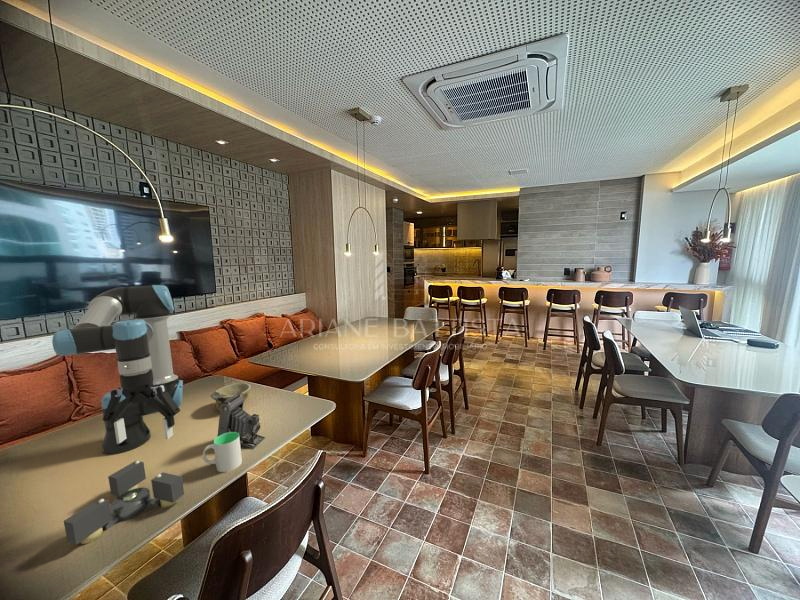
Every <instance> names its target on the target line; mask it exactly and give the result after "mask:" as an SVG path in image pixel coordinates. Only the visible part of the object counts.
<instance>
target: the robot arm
mask: <svg viewBox="0 0 800 600" xmlns="http://www.w3.org/2000/svg"><path fill="white" fill-rule="evenodd" d="M169 290H170V289H169V288H168V286H166V285H163V284H151V285H150V284H149V285H137V286H134V285H133V286H120V287H115V288H111V289H109V290H106V291H104V292H102V293H100V294H98V295H96V296H95V297H93V298H92V299H91V300H90V302H89V303H88V307H87V310H86V312H85V313H84V314H83V315H82V316H81V318H80V319H79V320H78V322H77V323H76V324H75V325H74V326H73V328H71V329H69V328H66V329H62V330H58V331H55V332H54V333H53V336H52V341H51V343H52V348H53V351H54V352H55V353H54V354H56V355H58V356H61V357H64V356H77V355H82V354H89V353H96V352H103V351H110V350H111V351H112V350H115V354H116V361H117V367H118V374H119V375H120V376H119V382H120V383H119V384H120V387H116V388H115V389H113V390H110V391H109V392H107V393H105V394H104V395H103V396H102V397H101V401H100V402H101V410H102V415H103V418H102V421H103V422H104V427H105V434H104V437H103V441H102V445H101V446H102V452H103V453H104V454H107V455H115V454H120V453H121V454H122V453H125V452H128V451H131V450H134V449H136V448H139V447H140V446H142V445H143V444H145V443H147V442H149V440H150V439H151V437H152V433H151V430H150V428H149V427H148V426H147V423H146V422H145V421H144V416H148V415H152V414H157V413H159V414H161V415H162V416H163V419H162V424H163V432H164V438H165V439H164V440H169V439H170V438H171V437H173V435H174V427H173V426H175V424H176V423H175V416H176V415H177V414H178V413H180V412H181V409H180V407H181V405H182V402H183V391H184V390H183V388H184V387H183V386H184V380H181V379H179V376H178V375H177V374H174V369H173V359H172V353H171V352H172V351H171V346H170V345H171V344H170V337H169V330H168V328H169V327H168V319H169V317H171V313H172V312H174V311H175V307H174V302H173V299H172V296H171V292H170V291H169ZM123 316H135V319H128V320H127V319H126V320H121V321H116V322H114V319H117V318H118V317H123ZM113 322H114V323H113ZM112 323H113V324H112Z"/></svg>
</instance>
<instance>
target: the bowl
mask: <svg viewBox="0 0 800 600" xmlns="http://www.w3.org/2000/svg"><path fill="white" fill-rule="evenodd" d="M251 387H252V386H251V385H250V384H249V383H247V382H236V383H231V384H228V385H225V386H223V387H220V388H218V389H217V390H215V391H214V392H213V393H211V395H210V398H211V399H212V400H214V401H215V409H216V410H217V411H219V412H220V409H221V405H222V404H223V403H224V401H226V400H228V399H229V398H230V397H232V396H233V395H235V394H237V393H238V392H241V393H242V394H241V395H243V397H244V402H245V401H246V400H247V399H248V397H249V392H250V391H251Z"/></svg>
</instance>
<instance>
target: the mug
mask: <svg viewBox="0 0 800 600" xmlns="http://www.w3.org/2000/svg"><path fill="white" fill-rule="evenodd" d="M208 449H213V451H214V455H215V456H214V457H215V458H214V459H212V460H209V459H208V458H207V457H206V451H207V450H208ZM202 460H203V462H204V463H206V464H209V465H214V464H215V465H216V470H217V472H219V473H227V472H231V471H233V470H236V469H237V468H238V467H240V466H241V464H242V463H243V457H242V449H241V445H240V438H239V433H237V432H228V433H224V434H222V435H220V436H218V437H217V436H216V437H215V438H214V439H213V443H211V444H208V445H207V446H206V447H205V448H204V449H203V451H202Z"/></svg>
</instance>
